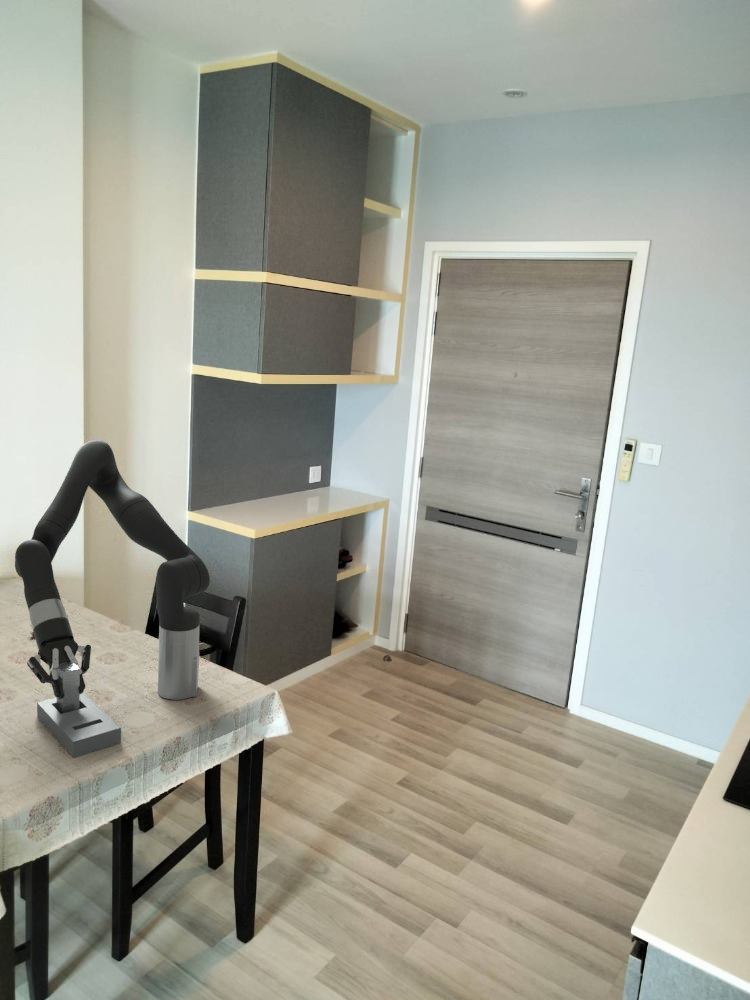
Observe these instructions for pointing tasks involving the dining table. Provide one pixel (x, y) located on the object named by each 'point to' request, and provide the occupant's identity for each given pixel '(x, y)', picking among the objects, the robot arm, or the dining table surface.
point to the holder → (80, 726)
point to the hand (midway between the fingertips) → (71, 694)
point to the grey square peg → (69, 687)
